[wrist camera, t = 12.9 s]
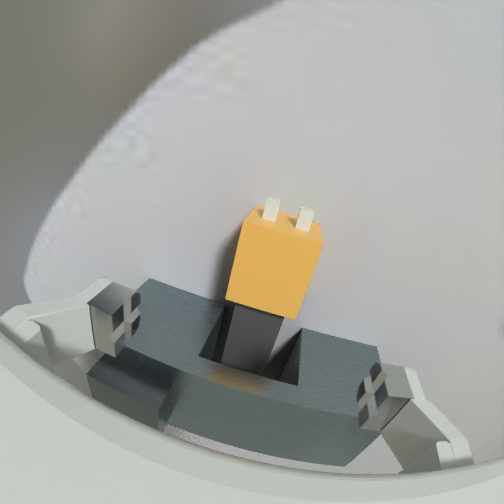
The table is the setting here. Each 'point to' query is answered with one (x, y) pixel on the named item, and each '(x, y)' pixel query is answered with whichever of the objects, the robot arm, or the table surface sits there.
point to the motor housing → (235, 384)
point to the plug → (268, 281)
